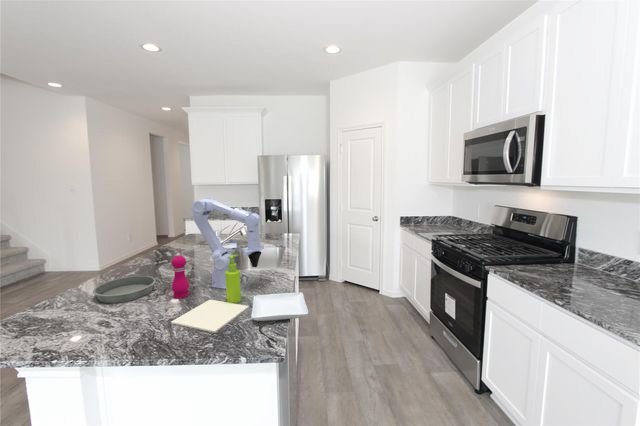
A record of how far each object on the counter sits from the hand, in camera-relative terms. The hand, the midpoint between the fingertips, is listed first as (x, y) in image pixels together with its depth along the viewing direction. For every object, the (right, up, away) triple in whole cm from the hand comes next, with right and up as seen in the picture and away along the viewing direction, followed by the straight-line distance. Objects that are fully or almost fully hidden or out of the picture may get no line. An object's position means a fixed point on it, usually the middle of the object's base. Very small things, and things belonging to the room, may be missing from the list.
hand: (254, 266), depth 146 cm
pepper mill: (-31, -12, -8) cm, 35 cm away
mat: (-11, -14, -27) cm, 33 cm away
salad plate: (+15, -14, -24) cm, 31 cm away
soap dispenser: (-6, -12, -14) cm, 19 cm away
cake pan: (-59, -12, -5) cm, 60 cm away
